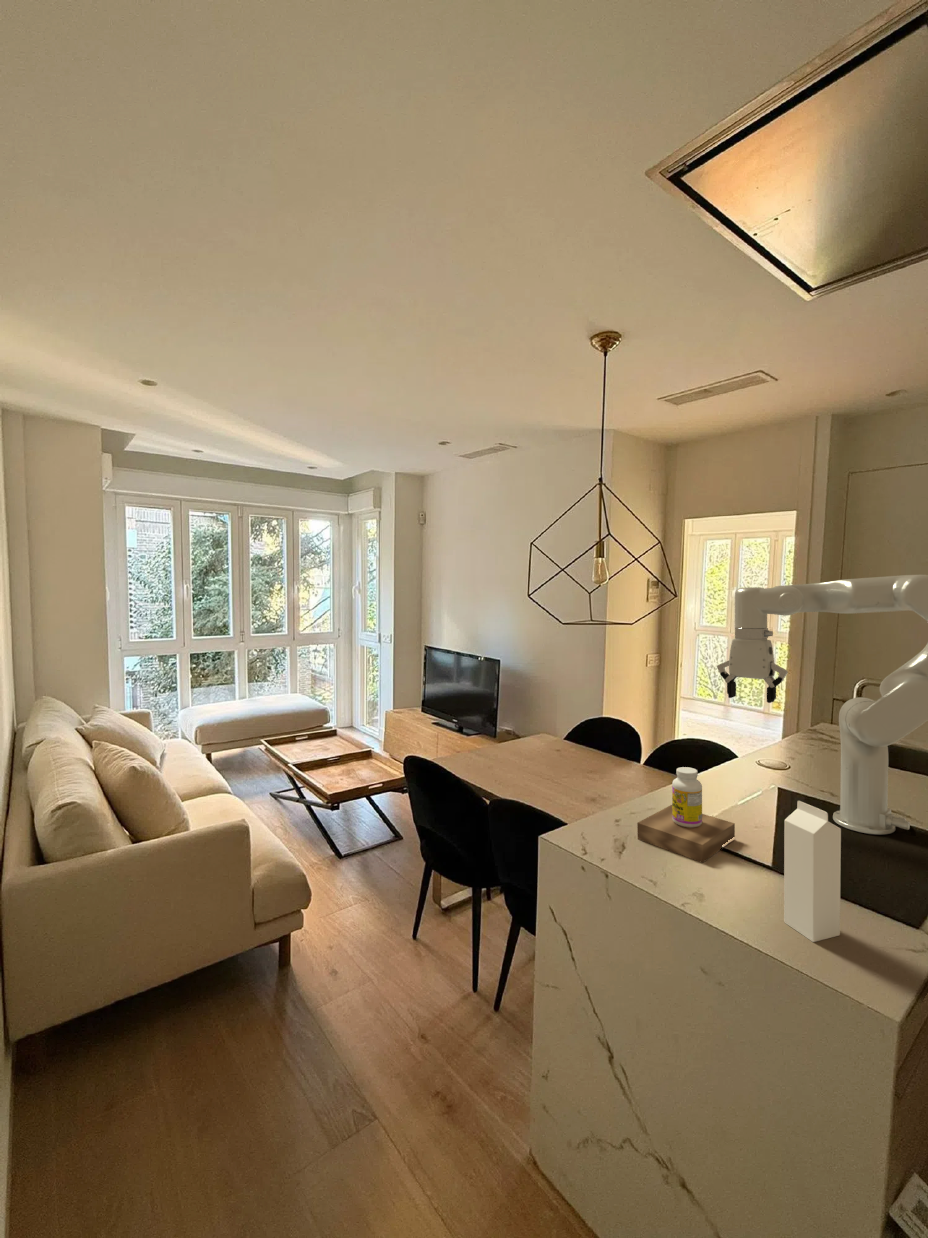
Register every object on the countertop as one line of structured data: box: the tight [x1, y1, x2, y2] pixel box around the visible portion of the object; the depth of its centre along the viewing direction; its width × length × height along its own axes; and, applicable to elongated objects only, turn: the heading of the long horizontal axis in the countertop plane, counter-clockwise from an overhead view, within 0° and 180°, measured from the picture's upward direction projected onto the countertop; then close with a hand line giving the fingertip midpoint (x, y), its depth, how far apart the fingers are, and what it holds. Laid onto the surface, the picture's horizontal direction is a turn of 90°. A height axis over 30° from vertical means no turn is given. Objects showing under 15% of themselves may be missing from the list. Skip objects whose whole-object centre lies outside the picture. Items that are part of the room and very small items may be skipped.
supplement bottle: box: [671, 766, 703, 828], centre depth 132 cm, size 7×7×13 cm
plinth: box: [636, 804, 736, 863], centre depth 132 cm, size 16×16×4 cm
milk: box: [783, 800, 842, 943], centre depth 97 cm, size 6×6×22 cm
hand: (750, 699), depth 145 cm, fingers open, 9 cm apart
